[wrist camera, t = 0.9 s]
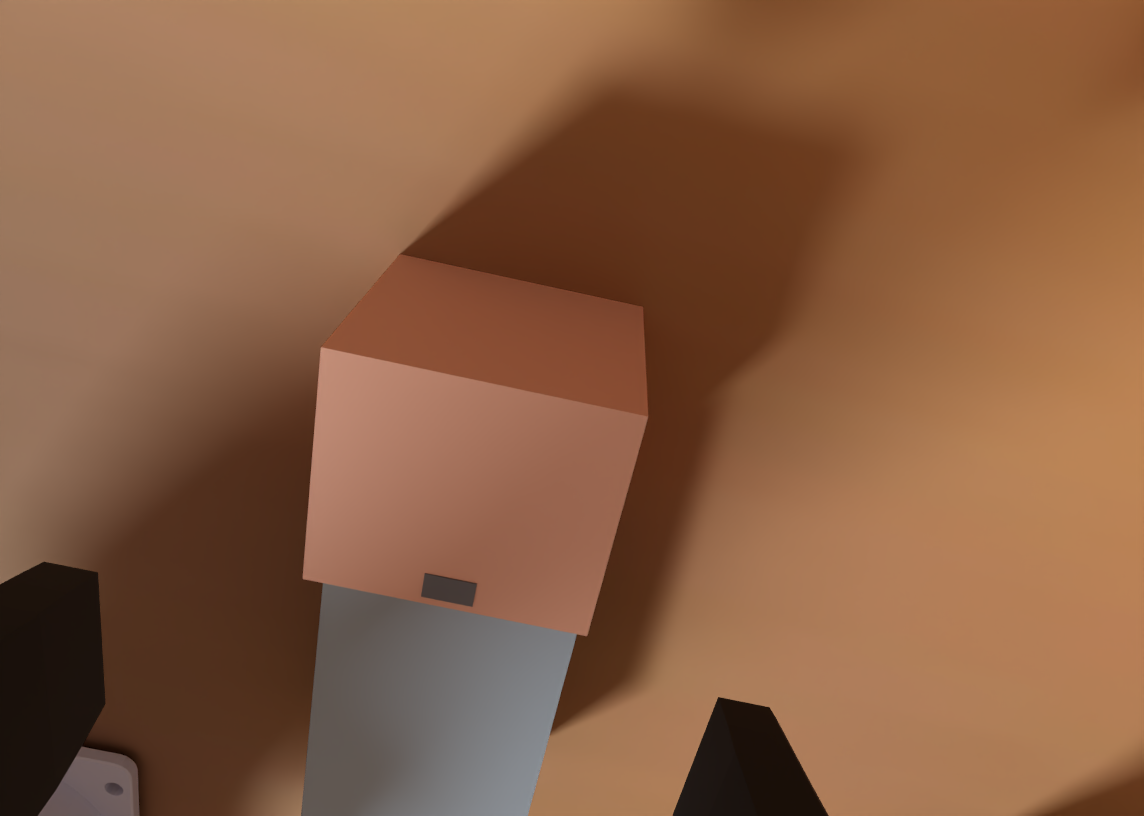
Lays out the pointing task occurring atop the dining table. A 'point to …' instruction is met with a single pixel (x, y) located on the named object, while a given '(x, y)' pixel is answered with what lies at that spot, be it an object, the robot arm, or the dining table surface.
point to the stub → (476, 443)
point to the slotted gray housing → (428, 709)
